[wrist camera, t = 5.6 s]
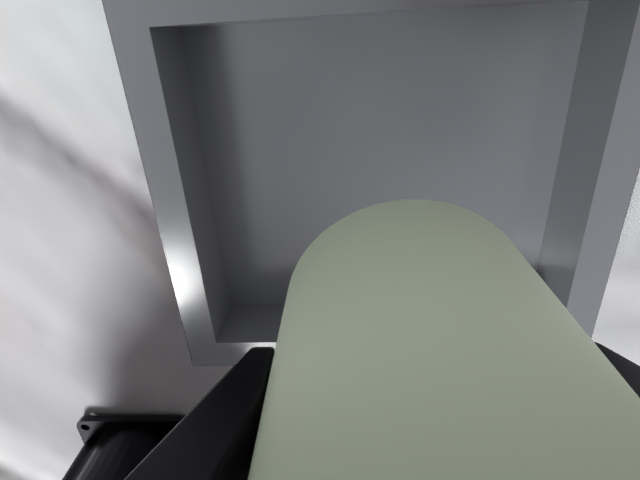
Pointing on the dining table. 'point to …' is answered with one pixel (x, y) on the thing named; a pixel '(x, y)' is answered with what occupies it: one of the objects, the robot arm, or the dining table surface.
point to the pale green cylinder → (436, 362)
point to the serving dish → (375, 136)
